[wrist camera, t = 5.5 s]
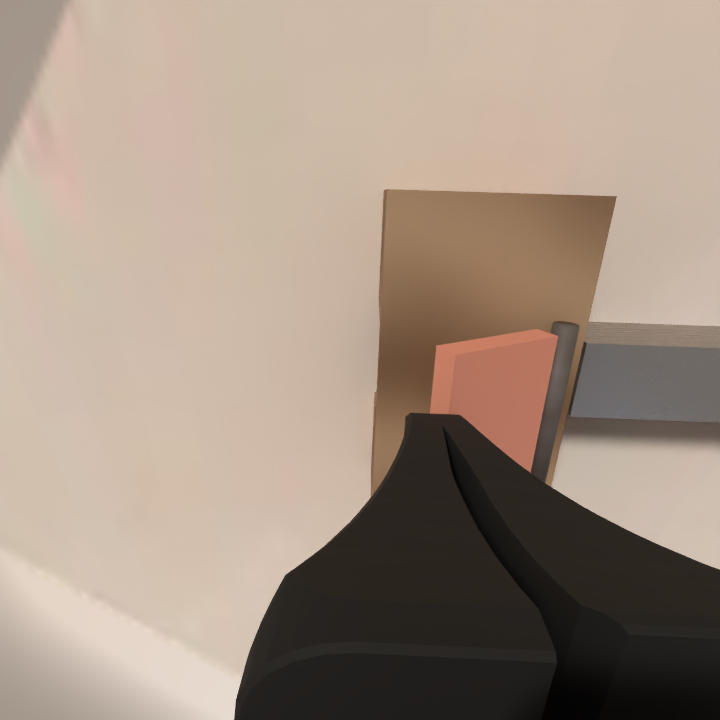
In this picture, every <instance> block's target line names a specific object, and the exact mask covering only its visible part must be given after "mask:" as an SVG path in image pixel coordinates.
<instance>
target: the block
mask: <svg viewBox="0 0 720 720" xmlns="http://www.w3.org/2000/svg"><path fill="white" fill-rule="evenodd" d="M616 197H617V196H585V195H552V194H519V193H486V192H453V191H420V190H384V198H383V220H382V243H381V265H380V287H379V313H380V335H379V357H378V378H377V392H375V398H374V420H373V443H372V465H371V497H372V496H373V494H374V493H375V491H376V490H377V488H378V487H379V486H380V484H381V482H382V481H383V479H384V478H385V476H386V474H387V473H388V471H389V469H390V467H391V465H392V463H393V461H394V459H395V457H396V455H397V453H398V451H399V448H400V445H401V443H402V440H403V437H404V428H405V417H406V416H407V415H408V414H409V413H430V407H431V397H432V386H433V376H434V366H435V356H436V346H437V345H443V344H449V343H455V342H461V341H467V340H473V339H479V338H485V337H492V336H498V335H504V334H510V333H516V332H522V331H528V330H534V329H539V330H542V331H545V332H547V333H550V334H553V335H556V336H558V340H557V345H556V350H555V355H554V360H553V365H552V370H551V374H550V379H549V384H548V389H547V394H546V399H545V404H544V409H543V414H542V419H541V424H540V429H539V434H538V438H537V443H536V448H535V453H534V458H533V463H532V468H531V474H533V475H534V476H536V477H537V478H538V479H540V480H541V481H543V482H544V483H546V484H547V485H549V486H550V487H551V484H552V480H553V475H554V471H555V466H556V462H557V458H558V453H559V449H560V444H561V440H562V435H563V431H564V427H565V422H566V418H567V413H568V409H569V405H570V400H571V396H572V391H573V387H574V382H575V378H576V374H577V369H578V365H579V360H580V356H581V352H582V347H583V343H584V338H585V334H586V329H587V325H588V321H589V316H590V312H591V307H592V303H593V299H594V294H595V290H596V285H597V281H598V276H599V272H600V268H601V263H602V259H603V254H604V250H605V246H606V241H607V237H608V232H609V228H610V223H611V219H612V215H613V210H614V206H615V201H616Z"/></svg>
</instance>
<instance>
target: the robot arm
mask: <svg viewBox="0 0 720 720" xmlns="http://www.w3.org/2000/svg"><path fill="white" fill-rule="evenodd" d="M234 720H720V570H719V569H716V568H713V567H711V566H708V565H705V564H703V563H700V562H698V561H695V560H693V559H691V558H688V557H686V556H684V555H681V554H679V553H677V552H674V551H672V550H670V549H667V548H665V547H663V546H660V545H658V544H656V543H653V542H651V541H649V540H647V539H645V538H643V537H641V536H638V535H636V534H634V533H632V532H630V531H628V530H626V529H624V528H622V527H620V526H618V525H616V524H614V523H612V522H610V521H608V520H606V519H605V518H603V517H601V516H599V515H597V514H595V513H593V512H591V511H590V510H588V509H586V508H584V507H582V506H581V505H579V504H577V503H576V502H574V501H573V500H571V499H569V498H568V497H566V496H564V495H563V494H561V493H560V492H558V491H556V490H555V489H553V488H552V487H550V486H549V485H547V484H546V483H544V482H543V481H541V480H540V479H538V478H537V477H536V476H534V475H533V474H531V473H530V472H529V471H527V470H526V469H525V468H523V467H522V466H521V465H519V464H518V463H517V462H515V461H514V460H513V459H512V458H510V457H509V456H508V455H507V454H505V453H504V452H503V451H502V450H500V449H499V448H498V447H497V446H496V445H495V444H493V443H492V442H491V441H490V440H489V439H488V438H486V437H485V436H484V435H483V434H482V433H481V432H480V431H478V430H477V429H476V428H475V427H474V426H473V425H472V424H471V423H469V422H468V421H467V420H466V419H465V418H463V417H462V416H461V415H455V414H430V413H409V414H408V415H407V416H406V417H405V428H404V437H403V440H402V443H401V445H400V448H399V451H398V453H397V455H396V457H395V459H394V461H393V463H392V465H391V467H390V469H389V471H388V473H387V474H386V476H385V478H384V479H383V481H382V482H381V484H380V486H379V487H378V488H377V490H376V491H375V493H374V494H373V496H372V497H371V498H370V499H369V501H368V502H367V503H366V504H365V506H364V507H363V508H362V509H361V510H360V512H359V513H358V514H357V515H356V516H355V517H354V518H353V519H352V521H351V522H350V523H349V524H348V525H346V526H345V527H344V528H343V529H342V530H341V531H340V532H339V533H338V534H337V535H336V536H335V537H334V538H333V539H332V540H331V541H330V542H328V543H327V544H326V545H325V546H324V547H323V548H321V549H320V550H319V551H318V552H316V553H315V554H314V555H312V556H311V557H310V558H308V559H307V560H306V561H304V562H303V563H302V564H300V565H299V566H298V567H296V568H295V569H294V570H292V571H290V572H289V573H288V574H286V575H285V577H284V579H283V580H282V582H281V584H280V586H279V588H278V590H277V591H276V593H275V595H274V597H273V599H272V601H271V603H270V605H269V607H268V609H267V611H266V613H265V615H264V617H263V620H262V622H261V624H260V627H259V629H258V631H257V634H256V636H255V639H254V641H253V644H252V647H251V649H250V652H249V655H248V658H247V662H246V665H245V669H244V673H243V676H242V680H241V684H240V688H239V691H238V695H237V699H236V708H235V719H234Z"/></svg>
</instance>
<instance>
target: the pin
mask: <svg viewBox="0 0 720 720" xmlns="http://www.w3.org/2000/svg"><path fill="white" fill-rule="evenodd" d="M567 414H568V415H569V416H570V417H588V418H613V419H639V420H664V421H689V422H715V423H720V326H692V325H664V324H636V323H607V322H588V325H587V329H586V334H585V338H584V343H583V347H582V352H581V356H580V360H579V365H578V369H577V374H576V378H575V382H574V387H573V391H572V396H571V400H570V405H569V409H568V413H567Z"/></svg>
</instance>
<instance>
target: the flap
mask: <svg viewBox="0 0 720 720" xmlns="http://www.w3.org/2000/svg"><path fill="white" fill-rule="evenodd" d="M557 340H558V336H556V335H553V334H550V333H547V332H545V331H542V330H539V329H534V330H528V331H522V332H516V333H510V334H504V335H498V336H492V337H485V338H479V339H473V340H467V341H461V342H455V343H449V344H443V345H437V346H436V356H435V366H434V376H433V386H432V397H431V407H430V414H455V415H461V416H462V417H463V418H465V419H466V420H467V421H468V422H469V423H471V424H472V425H473V426H474V427H475V428H476V429H477V430H478V431H480V432H481V433H482V434H483V435H484V436H485V437H486V438H488V439H489V440H490V441H491V442H492V443H493V444H495V445H496V446H497V447H498V448H499V449H500V450H502V451H503V452H504V453H505V454H507V455H508V456H509V457H510V458H512V459H513V460H514V461H515V462H517V463H518V464H519V465H521V466H522V467H523V468H525V469H526V470H527V471H529V472H530V473H531V468H532V463H533V458H534V453H535V448H536V443H537V438H538V434H539V429H540V424H541V419H542V414H543V409H544V404H545V399H546V394H547V389H548V384H549V379H550V374H551V370H552V365H553V360H554V355H555V350H556V345H557Z"/></svg>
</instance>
